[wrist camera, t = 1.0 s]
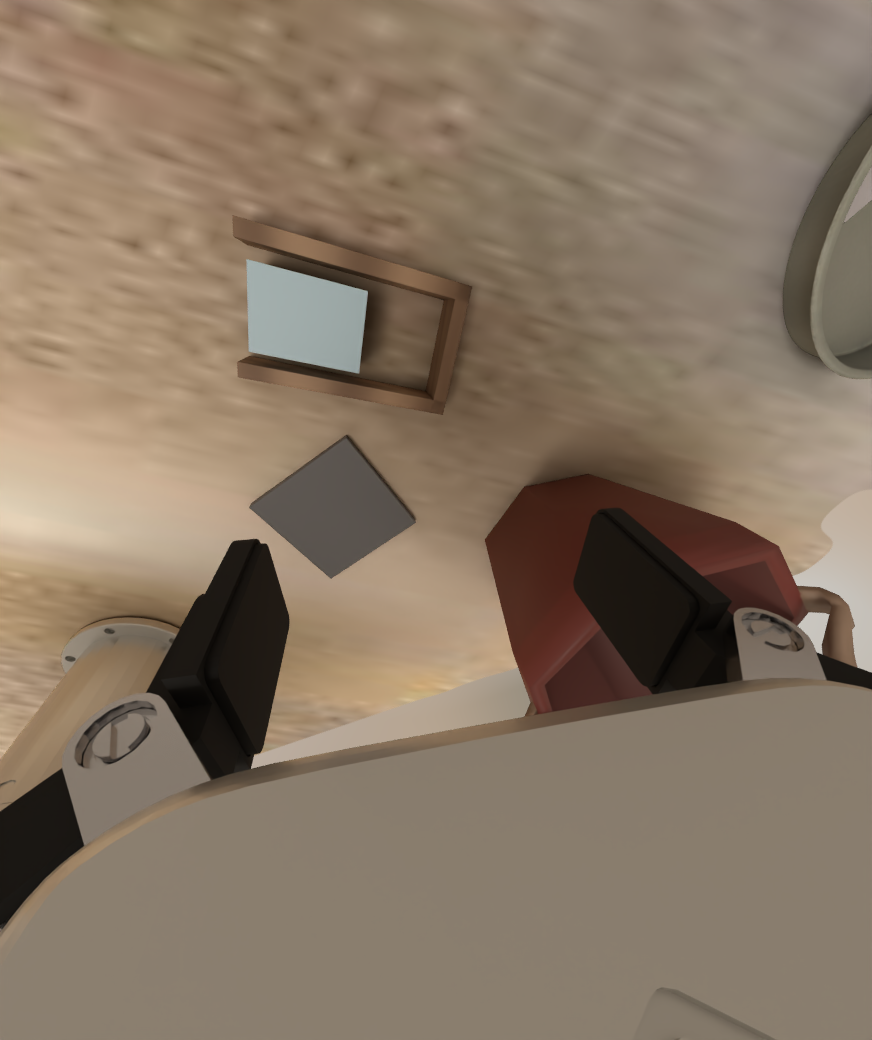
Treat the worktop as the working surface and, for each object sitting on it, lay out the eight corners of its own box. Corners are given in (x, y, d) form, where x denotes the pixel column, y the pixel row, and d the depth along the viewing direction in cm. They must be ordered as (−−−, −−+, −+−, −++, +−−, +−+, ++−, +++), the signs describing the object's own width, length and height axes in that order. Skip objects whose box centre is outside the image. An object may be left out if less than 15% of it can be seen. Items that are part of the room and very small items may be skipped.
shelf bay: (249, 369, 28) (237, 377, 25) (247, 226, 24) (232, 215, 21) (434, 404, 32) (442, 414, 29) (459, 288, 28) (472, 286, 25)
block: (264, 344, 27) (248, 351, 23) (263, 267, 25) (246, 259, 21) (357, 364, 29) (358, 373, 25) (364, 293, 27) (368, 291, 23)
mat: (331, 573, 39) (331, 578, 38) (251, 503, 33) (249, 507, 33) (414, 518, 38) (415, 522, 37) (346, 435, 32) (346, 438, 31)
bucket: (665, 436, 39) (1036, 587, 18) (630, 587, 51) (829, 786, 30) (447, 478, 36) (585, 716, 15) (462, 628, 48) (552, 881, 27)
